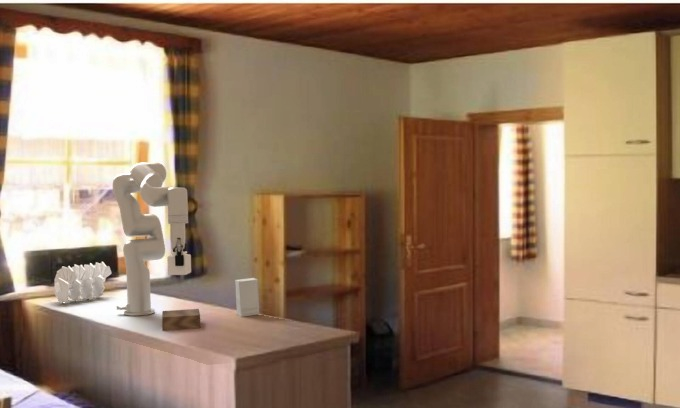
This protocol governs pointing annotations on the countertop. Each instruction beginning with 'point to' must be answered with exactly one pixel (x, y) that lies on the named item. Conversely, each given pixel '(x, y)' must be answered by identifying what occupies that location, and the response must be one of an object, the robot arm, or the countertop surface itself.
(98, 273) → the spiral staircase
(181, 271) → the medicine bottle
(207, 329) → the countertop surface
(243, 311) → the skincare box
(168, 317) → the walnut riser
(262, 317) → the countertop surface
